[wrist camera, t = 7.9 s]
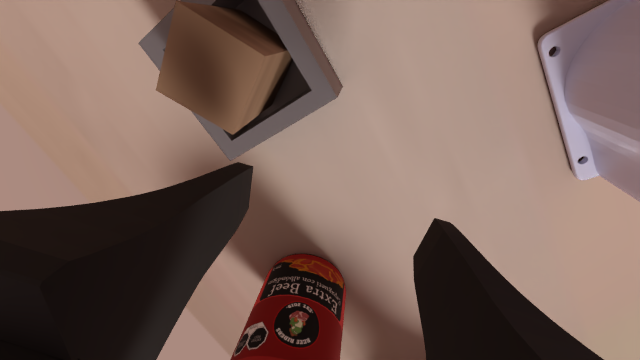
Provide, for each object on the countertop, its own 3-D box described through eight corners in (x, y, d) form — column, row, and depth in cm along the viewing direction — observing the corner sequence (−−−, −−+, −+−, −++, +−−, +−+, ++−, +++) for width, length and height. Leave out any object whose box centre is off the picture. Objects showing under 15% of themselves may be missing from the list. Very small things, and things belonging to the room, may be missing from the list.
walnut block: (298, 47, 17) (265, 56, 11) (271, 104, 19) (232, 134, 13) (239, 9, 16) (176, 0, 11) (218, 72, 18) (155, 90, 13)
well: (342, 86, 18) (337, 97, 15) (249, 143, 21) (230, 161, 18) (269, -47, 15) (245, -64, 12) (174, 40, 18) (138, 43, 15)
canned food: (357, 264, 25) (347, 413, 15) (335, 318, 29) (316, 462, 19) (274, 240, 25) (214, 372, 15) (264, 296, 29) (210, 428, 19)
